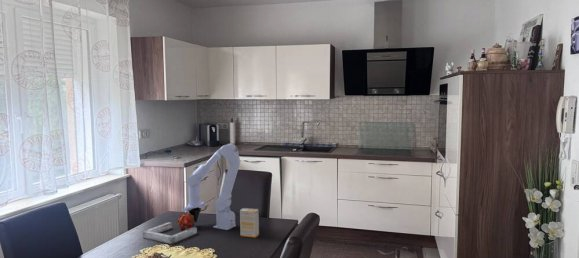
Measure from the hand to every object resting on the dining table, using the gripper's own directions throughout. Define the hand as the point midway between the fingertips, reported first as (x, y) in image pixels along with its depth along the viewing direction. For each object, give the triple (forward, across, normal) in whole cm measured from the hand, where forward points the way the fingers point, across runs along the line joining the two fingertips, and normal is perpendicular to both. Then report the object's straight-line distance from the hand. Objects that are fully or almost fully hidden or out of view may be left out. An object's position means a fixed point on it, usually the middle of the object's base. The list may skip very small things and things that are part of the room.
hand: (194, 221), depth 205 cm
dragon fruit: (+2, +6, 0) cm, 7 cm away
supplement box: (+2, 0, +35) cm, 35 cm away
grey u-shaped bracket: (+2, +17, 0) cm, 17 cm away
